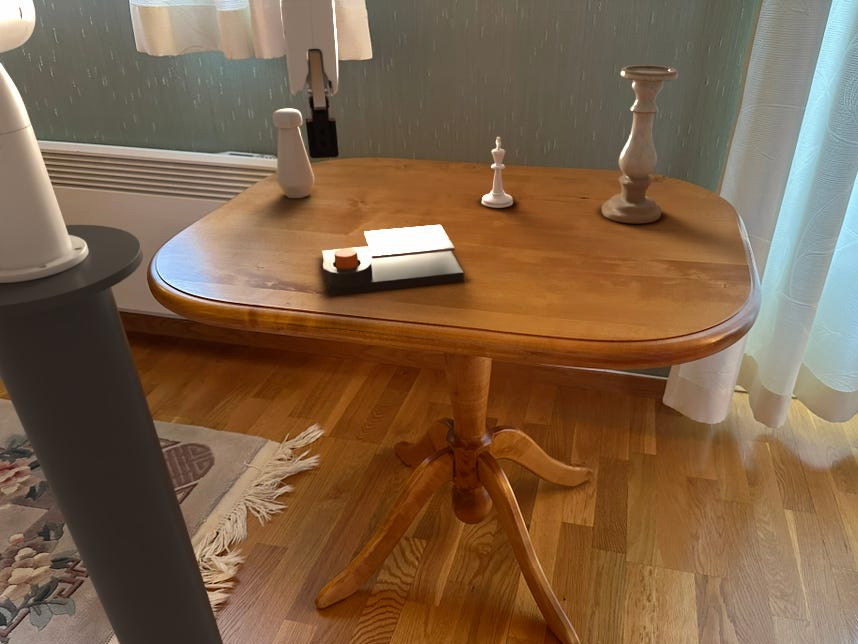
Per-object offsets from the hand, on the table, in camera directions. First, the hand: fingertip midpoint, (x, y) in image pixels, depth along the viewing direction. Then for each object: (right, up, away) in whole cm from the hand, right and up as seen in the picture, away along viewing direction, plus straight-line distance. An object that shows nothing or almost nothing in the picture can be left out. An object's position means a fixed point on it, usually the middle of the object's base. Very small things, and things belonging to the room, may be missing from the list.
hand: (324, 155), depth 77 cm
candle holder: (+40, -1, +25) cm, 48 cm away
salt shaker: (-12, +3, +32) cm, 35 cm away
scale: (+7, -12, +7) cm, 16 cm away
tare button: (+2, -12, +2) cm, 13 cm away
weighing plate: (+9, -9, +7) cm, 14 cm away
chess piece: (+20, +1, +29) cm, 36 cm away
